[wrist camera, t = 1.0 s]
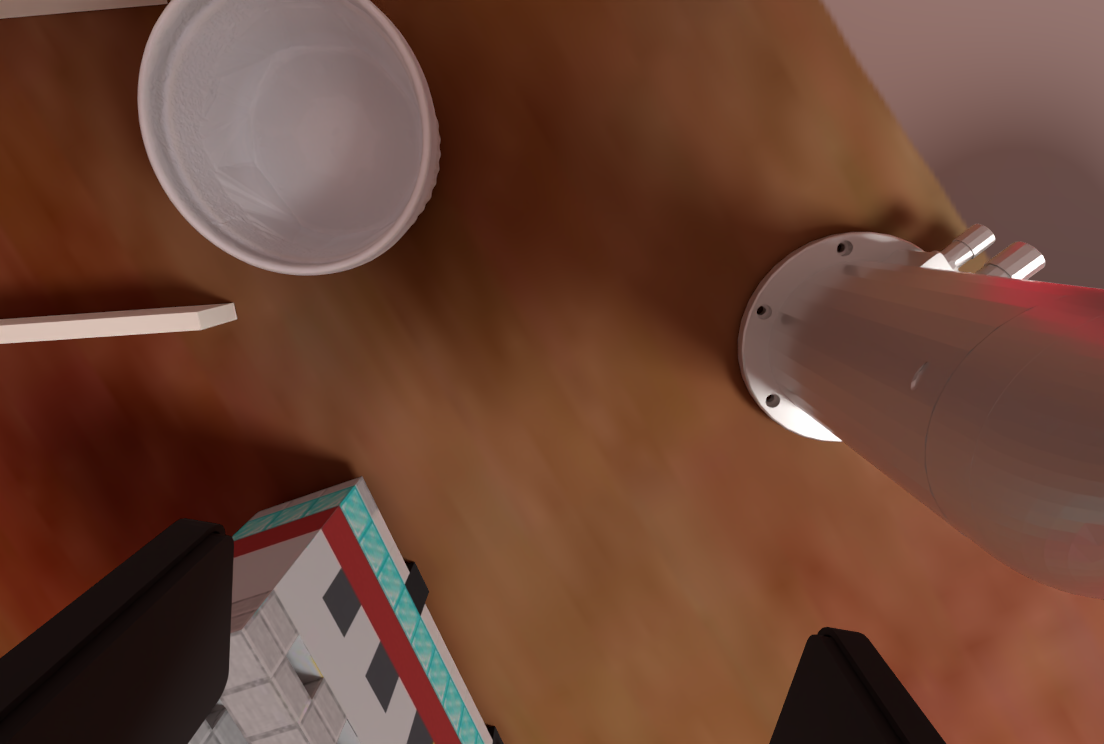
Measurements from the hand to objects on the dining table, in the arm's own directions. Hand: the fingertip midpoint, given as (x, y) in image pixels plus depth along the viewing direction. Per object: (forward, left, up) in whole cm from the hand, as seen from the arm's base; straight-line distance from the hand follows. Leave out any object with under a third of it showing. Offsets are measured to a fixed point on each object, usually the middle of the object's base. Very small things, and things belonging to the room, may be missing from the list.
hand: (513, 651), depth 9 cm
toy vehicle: (+24, +12, -26) cm, 37 cm away
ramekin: (+2, -16, -26) cm, 31 cm away
